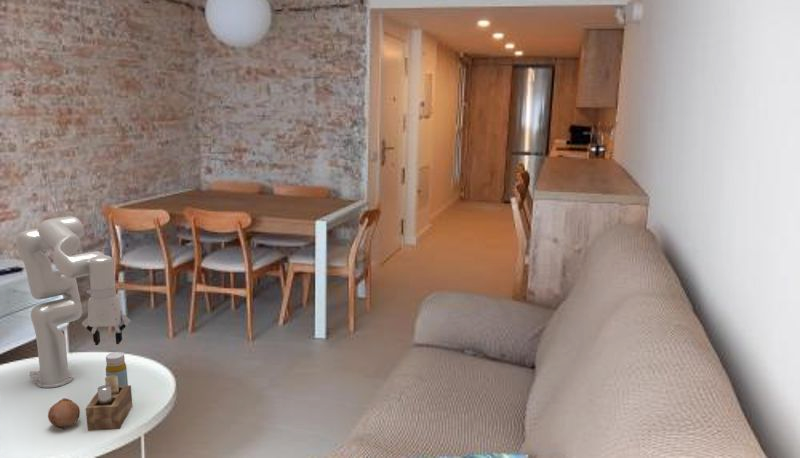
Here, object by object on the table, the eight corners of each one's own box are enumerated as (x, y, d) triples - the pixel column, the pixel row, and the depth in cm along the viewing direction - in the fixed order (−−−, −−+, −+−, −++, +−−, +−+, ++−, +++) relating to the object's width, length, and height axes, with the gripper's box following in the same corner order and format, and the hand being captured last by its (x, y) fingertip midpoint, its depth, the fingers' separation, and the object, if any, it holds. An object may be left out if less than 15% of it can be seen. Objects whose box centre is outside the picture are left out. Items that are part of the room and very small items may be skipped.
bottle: (121, 398, 235) (117, 359, 232) (103, 396, 237) (100, 358, 234) (132, 390, 242) (129, 352, 239) (115, 388, 243) (112, 350, 240)
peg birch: (105, 400, 221) (103, 380, 220) (108, 395, 225) (107, 375, 224) (117, 400, 222) (115, 379, 220) (120, 394, 226) (119, 374, 224)
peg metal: (97, 411, 214) (95, 390, 212) (101, 406, 217) (99, 385, 216) (110, 411, 214) (108, 390, 213) (114, 405, 218) (112, 384, 216)
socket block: (87, 430, 212) (85, 408, 211) (103, 408, 228) (100, 386, 226) (119, 428, 214) (117, 406, 212) (132, 406, 229) (130, 385, 228)
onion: (65, 429, 219) (66, 399, 222) (86, 426, 216) (86, 395, 218) (41, 432, 211) (41, 400, 213) (62, 429, 207) (62, 397, 210)
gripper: (72, 296, 211) (77, 348, 215) (127, 294, 214) (131, 346, 217) (80, 290, 219) (85, 340, 222) (133, 288, 221) (137, 338, 224)
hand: (108, 342), depth 220 cm, fingers open, 6 cm apart
